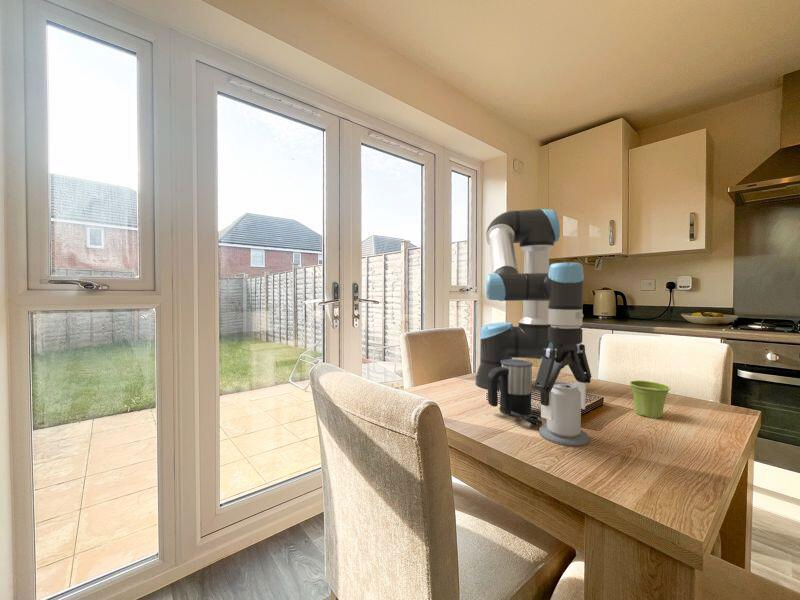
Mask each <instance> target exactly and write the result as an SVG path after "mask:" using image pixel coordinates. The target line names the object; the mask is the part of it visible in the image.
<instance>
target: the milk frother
mask: <svg viewBox="0 0 800 600" xmlns="http://www.w3.org/2000/svg"><path fill="white" fill-rule="evenodd" d="M501 363H502V367H496V368H494V369H492V370H491V371H490V372H489V374H488V377H487V384H488V389H487V400H488V405H490V406H491V407H496V408H497V406H498V403H499V408H498V409H499V412H501V413H503V414H504V415H507V416H512V417H517V418H520V419H523V420H524V421H526V422H527V423H529V424H530V425H532V426H535V427H536V426H537V425H538V424H539V425H542V423H543V422H542V420H541V418H539V417H538V415H535V414H533V411H532V382H533V381H532V379H533V377H532V376H533V375H532V373H533V372H532V370H533V368H532V367H533V365H534V363H533V362H532V361H529V360H524V359H518V358H512V359H506V360H501ZM499 376H501V390H499V391H500V393H498V390H497V380H498V378H499ZM499 394H500V398H499V397H498V395H499ZM498 399H499V401H498Z"/></svg>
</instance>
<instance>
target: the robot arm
mask: <svg viewBox="0 0 800 600" xmlns="http://www.w3.org/2000/svg"><path fill="white" fill-rule="evenodd" d="M560 225H561V224H560V221H559V216H558V214H557V212H556V211H555V210H554V209H544V208H539V209H525V210H524V209H523V210H509V211H505V212H503V213H501V214H499V215H497V216H496V217H495V218H494V219H493V220H492V221H491V222H490V224H489V225H488V227H487V229H486V233H485V238H486V243H487V244H488V246H489V253H490V263H491V264H490V265H491V273H489V274H487V275H486V277H485V296H486V298H487V300H490V301H499V302H504V301H505V302H506V301H509V302H511V301H513V302H514V301H518V302H519V301H522V303H523V304H522V308H523V309H522V318H521V319H520V320H519V321H518V326H514V325H513V323H512V322H509V321H508V322H495V323H488V324H484V325H483V326H481V329H480V336H479V339H480V351H479V352H480V353H479V354H480V356H479V357H480V358H479V359H480V361H479V362H480V363H479V366H478V369H477V372H476V375H475V379H474V380H475V381H474V383H475V385H476V386H478V387H480V388H481V389H482V388H483V389H487V390H488V384H487V377H488V374H489V372H490V371H491V370H492V369H494V368H496V367H502V363H501V360H506V359H533V360H534V359H537V360H540V361H541V362H540V365H539V369H538V371H537V376H536V378H535V381H534V386H533V387H534V389H535V390H539V392H540V417H541V418H543V419H545V420H547V419H548V420H551V421H552V420H553V402H554V392H551V390H552V388H553V386H554V384H555V382H557V379H558V377H559V375H560V373H561V371H562V369H564V368H565V367H566V366H568V368H569V369H570V371H571V373H572V375H573V377H574V379H575V380H574V381H573V384H575V385H577V386H578V390H579V391H580V392H581V410H586V394H587V393H586V391H587V388H586V387H587V386H586V385H587V384H590V383H591V379H592V373H591V370H590V367H589V366H590V365H589V362H588V359H587V355H586V345H585V344H582V343H583V329H582V328H581V327H582V326H583V318H584V314H583V308H584V307H583V306H584V280H585V275H584V266H583V264H582V263H579V262H556V263H551V264H550V251H551V250H552V249H553V248H554V247H555V243H557V242H559V240H560V237H561V236H560V234H561V229H560V227H561V226H560ZM514 244H519V249H520V251H522V252H523V273H521V272H520V271H519V267H518V262H517V261H518V260H517V255H516V252H515V251H516V250H515V245H514ZM499 389H501V376H499V378H498V380H497V391H500V390H499Z"/></svg>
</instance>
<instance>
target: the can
mask: <svg viewBox="0 0 800 600" xmlns="http://www.w3.org/2000/svg"><path fill="white" fill-rule="evenodd" d="M551 392H554V402H553V420H552V421H551V420H548V419H546V424H547V428H548V429H549V430H550V431H551V433H553V434H554V435H557V436H560V437H566V438H572V437H576V436H577V435H578V434H580V432H581V430H582V429H581V428H582V409H581V392H580V391H579V390H578V386H577V385H575V384H574V382H568V381H567V382H566V381H555V384H554V386H553V388H552V390H551Z"/></svg>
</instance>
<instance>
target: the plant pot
mask: <svg viewBox="0 0 800 600" xmlns="http://www.w3.org/2000/svg"><path fill="white" fill-rule="evenodd" d="M629 385H630V386H631V390H632V394H633V402H634V403H633V404H634V411H635V413H636V414H637V415H639V416H645V417H647V418H651V419H661V417H663V412H664V408H665V402H666V399H667V395H668V393H669V391H670V390H671V387H670V386H669V385H666V384H664V383H658V382H655V381H648V380H631V381H629Z"/></svg>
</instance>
